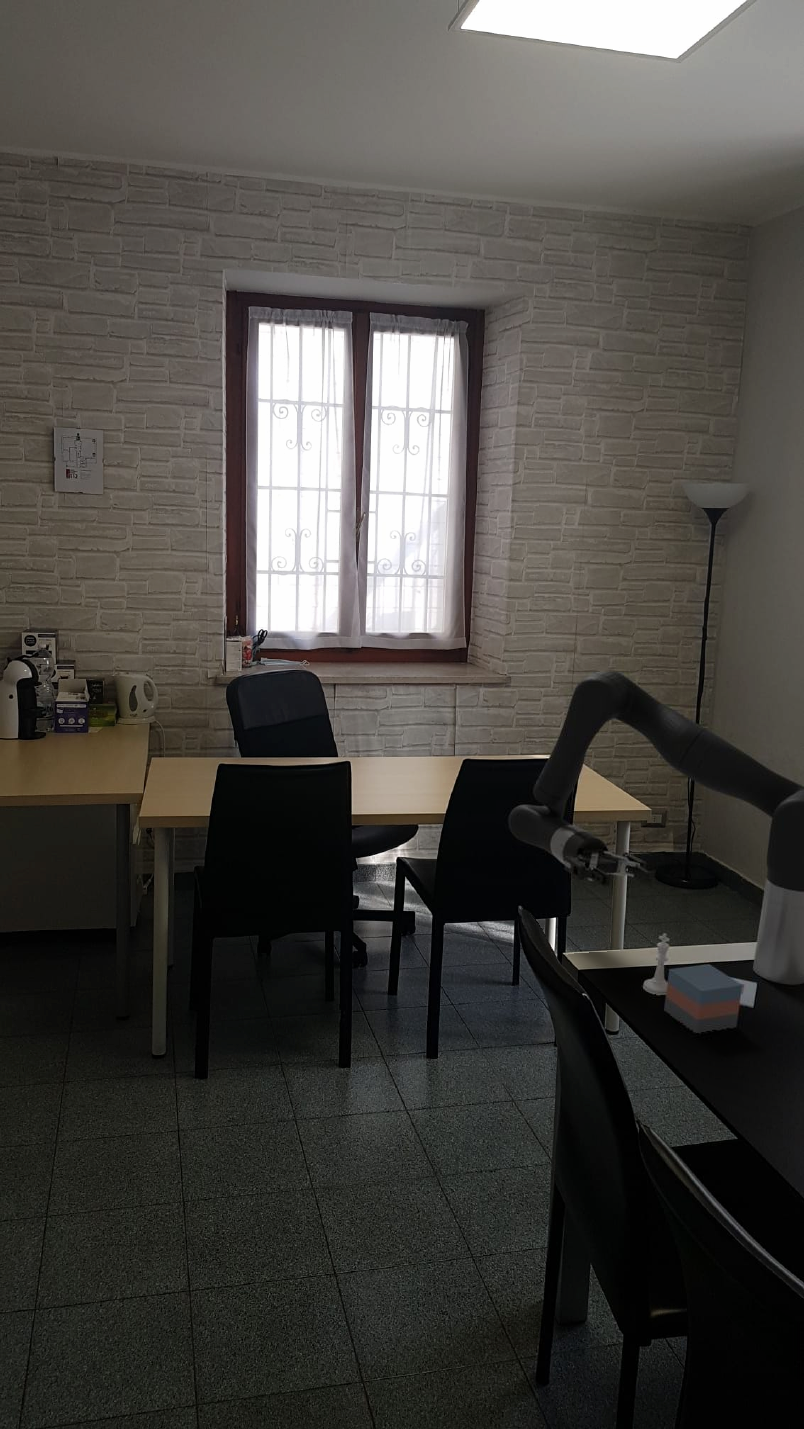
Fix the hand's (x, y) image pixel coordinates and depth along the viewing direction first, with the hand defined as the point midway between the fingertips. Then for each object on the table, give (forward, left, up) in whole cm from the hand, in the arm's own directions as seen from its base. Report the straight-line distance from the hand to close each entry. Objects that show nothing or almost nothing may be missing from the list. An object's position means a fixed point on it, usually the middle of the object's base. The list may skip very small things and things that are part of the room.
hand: (628, 880), depth 188 cm
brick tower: (+16, +16, -15) cm, 27 cm away
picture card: (+2, +20, -15) cm, 25 cm away
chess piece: (+8, +8, -16) cm, 19 cm away
